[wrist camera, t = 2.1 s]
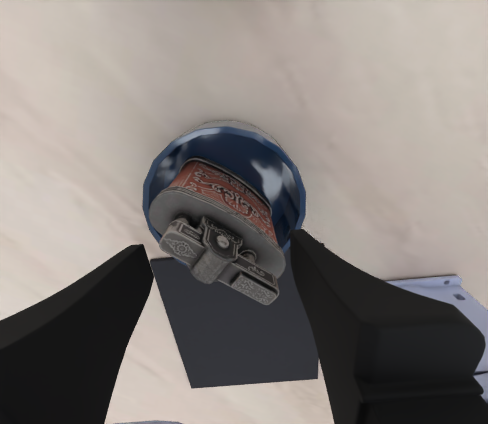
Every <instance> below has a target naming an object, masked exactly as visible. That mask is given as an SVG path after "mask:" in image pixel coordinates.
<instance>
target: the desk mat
mask: <svg viewBox="0 0 488 424" xmlns="http://www.w3.org/2000/svg"><path fill="white" fill-rule="evenodd" d="M322 245H323V246H324V244H322ZM284 257H285V263H286V266H285V269H284V272H283V273H282V274H281V276H280V277H279V278H278V279H277V283H278V288H279V295H278V297H277V298H276V299H275V300H274V301H273V302H272V303H270V304H269V305H264V304H262V303H260V302H258V301H256V300H254V299H252V298H251V297H249V296H247V295H245V294H243V293H241V292H239V291H237V290H235V289H233V288H232V287H230V286H228V285H226V284H224V283H222V282H220V281H217V282H213V283H212V284H204V283H203V282H201V281H199V280H197V279H195V278H194V277H193V276H192V274H191V272H190V269H189V268H188V267H187V266H186V265H183V264H181V263H179V262H178V261H177V260H176V259H174V258H173V257H171V258H160V259H151V260H150V264H151V267H152V270H153V273H154V276H155V279H156V282H157V285H158V289H159V292H160V295H161V298H162V301H163V304H164V307H165V310H166V313H167V316H168V319H169V322H170V325H171V328H172V331H173V334H174V337H175V340H176V343H177V346H178V349H179V352H180V355H181V358H182V361H183V364H184V367H185V370H186V373H187V376H188V379H189V382H190V385H191V388H204V387H217V386H230V385H244V384H257V383H270V382H283V381H296V380H310V379H318V360H319V355H318V351H317V347H316V344H315V340H314V336H313V332H312V329H311V326H310V323H309V320H308V317H307V315H306V312H305V309H304V306H303V304H302V301H301V298H300V295H299V293H298V290H297V287H296V284H295V281H294V277H293V273H292V268H291V257H290V247H289V248H288V250H287V251H286V252H285V253H284Z"/></svg>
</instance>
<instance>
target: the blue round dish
mask: <svg viewBox="0 0 488 424" xmlns="http://www.w3.org/2000/svg"><path fill="white" fill-rule="evenodd" d="M192 156H202V157H205V158H207V159H209V160H211V161H214V162H216V163H218V164H221V165H223V166H224V167H226V168H228V169H229V170H231V171H233V172H235V173H236V174H238V175H240V176H241V177H242V178H244V179H245V180H246V181H247V182H249V183H250V184H251V185H252V186H254V187H255V188H256V189H257V190H258V191H259V192H260V193H261V194H262V195H263V196H264V197H265V198H266V199H267V200H268V202H269V203H270V206H271V210H272V215H271V219H272V223H273V227H274V231H275V235H276V239H277V243H278V245H279V246H280V247H281V249H282V251H283V253H285V252H286V251H287V250H288V248H289V247H290V230H296V229H301V226H302V223H303V221H304V218H305V215H306V192H305V188H304V185H303V183H302V180H301V177H300V174H299V171H298V169H297V167H296V166H295V164H294V163H293V162H292V161H291V159H290V158H289V157H288V155H287V154H286V153H285V152H284V150H283V149H282V148H281V147H280V145H279V144H278V143H277V142H276V141H275V139H274V138H273V137H271V136H270V135H268V134H266V133H265V132H264V131H262V130H260V129H258V128H257V127H255V126H253V125H250V124H246V123H242V122H238V121H232V120H224V121H214V122H206V123H204V124H202V125H199V126H197V127H195V128H193V129H191V130H189V131H187V132H185V133H184V134H182V135H181V136H179V137H178V138H176V139H175V140H174V141H172V142H171V143H170V144H169V145H168V146H167V147H166V148H165V149H164V150H163V151H162V152H161V153H160V154H159V155H158V156H157V157H156V159H155V160H154V161H153V163H152V165H151V167H150V170H149V172H148V174H147V177H146V179H145V181H144V184H143V211H144V215H145V218H146V221H147V224H148V228H149V230H150V232H151V233H152V235H153V236H154V238H155V239H156V240H157V242H158V243H159V242H160V240H161V238H162V236H163V235H161V234H160V233H159V232H158V231H156V229H155V228H154V227H153V226H152V224H151V222H150V219H149V209H150V206H151V203H152V202H153V201H154V199H155V198H156V197H157V196H158V195H159V193H160V192H161V191H162V190H164V189H166V188H168V187H169V186H170V184H171V183H172V182H173V180H174V179H175V178H176V177H177V175H178V174H179V170H180V168H181V166H182V165H183V164H184V162H185V161H186V160H187V159H189V158H190V157H192ZM172 257H173V256H172ZM173 258H174V259H176V260H177V261H178V262H179V263H181V264H183V265H186V263H184V262H182V261H181V260H179V259H177V258H175V257H173ZM186 266H187V265H186Z"/></svg>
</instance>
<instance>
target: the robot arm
mask: <svg viewBox="0 0 488 424" xmlns="http://www.w3.org/2000/svg"><path fill="white" fill-rule="evenodd" d="M290 257H291V268H292V273H293V277H294V281H295V284H296V287H297V290H298V293H299V295H300V298H301V301H302V304H303V306H304V309H305V312H306V315H307V317H308V320H309V323H310V326H311V329H312V332H313V336H314V340H315V344H316V347H317V351H318V355H319V359H320V363H321V367H322V371H323V376H324V380H325V384H326V388H327V393H328V397H329V401H330V405H331V410H332V414H333V419H334V423H335V424H488V310H487V309H486V308H485V307H484V306H483V305H481V304H480V303H479V302H478V301H477V300H476V299H475V298H473V297H472V296H471V295H470V294H469V293H468V292H467V291H465V290H464V289H463V288H462V287H461V286H460V285H461V282H462V279H461V278H460V277H459V276H458V275H454V276H442V277H431V278H419V279H408V280H396V281H383V280H381V279H378V278H376V277H374V276H372V275H370V274H368V273H366V272H364V271H362V270H360V269H358V268H356V267H355V266H353V265H351V264H349V263H348V262H346V261H344V260H343V259H341V258H340V257H338V256H337V255H335V254H334V253H332V252H331V251H330V250H328V249H327V248H326V247H324V246H323V245H322V244H320V243H319V242H318V241H317V240H315V239H314V238H313V237H312V236H311V235H309V234H308V233H307V232H306V231H305V230H303V229H296V230H290ZM153 279H154V275H153V272H152V269H151V266H150V263H149V260H148V257H147V254H146V251H145V248H144V245H143V244H139V245H131V246H129V247H127V248H125V249H124V250H122V251H121V252H119V253H118V254H116V255H115V256H113V257H112V258H110V259H109V260H107V261H106V262H105V263H103V264H102V265H100V266H99V267H97V268H96V269H94V270H93V271H91V272H90V273H88V274H87V275H85V276H84V277H82V278H81V279H79V280H77V281H76V282H74V283H73V284H71V285H70V286H68V287H66V288H64V289H63V290H61V291H59V292H57V293H56V294H54V295H52V296H50V297H48V298H47V299H45V300H43V301H41V302H39V303H37V304H35V305H33V306H31V307H29V308H27V309H24V310H22V311H20V312H18V313H16V314H14V315H12V316H10V317H7V318H5V319H3V320H1V321H0V424H104V422H105V419H106V415H107V411H108V407H109V403H110V400H111V396H112V392H113V389H114V386H115V382H116V379H117V375H118V372H119V369H120V366H121V363H122V360H123V356H124V353H125V350H126V347H127V345H128V342H129V340H130V337H131V335H132V333H133V331H134V328H135V326H136V324H137V322H138V319H139V317H140V315H141V313H142V310H143V308H144V306H145V303H146V301H147V299H148V296H149V293H150V290H151V287H152V283H153ZM115 424H182V423H179V422H171V421H142V422H129V423H115Z"/></svg>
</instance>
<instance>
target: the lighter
mask: <svg viewBox="0 0 488 424" xmlns="http://www.w3.org/2000/svg"><path fill="white" fill-rule="evenodd" d="M271 215H272V210H271V206H270V203H269V202H268V200H267V199H266V198H265V197H264V196H263V195H262V194H261V193H260V192H259V191H258V190H257V189H256V188H255V187H254V186H252V185H251V184H250V183H249V182H247V181H246V180H245V179H244V178H242V177H241V176H240V175H238V174H236V173H235V172H233V171H231V170H229V169H228V168H226V167H224V166H223V165H221V164H218V163H216V162H214V161H211V160H209V159H207V158H205V157H202V156H192V157H190V158H189V159H187V160H186V161H185V162H184V164H183V165H182V166H181V168H180V170H179V174H178V175H177V177H176V178H175V179H174V180H173V182H172V183H171V184H170V186H169V187H168V188H166V189H164V190H162V191H161V192H160V193H159V195H158V196H157V197H156V198H155V199H154V201H153V202H152V203H151V206H150V209H149V219H150V222H151V224H152V226H153V227H154V228H155V229H156V231H158V232H159V233H160V234H161V235H163V236H162V238H161V240H160V242H159V247H160V248H161V250H163V251H164V252H166V253H167V254H169V255H171V256H173V257H175V258H177V259H179V260H181V261H182V262H184V263H186V265H187V267H188V268H189V269H190V272H191V274H192V276H193V277H194V278H195V279H197V280H199V281H201V282H203V283H204V284H212V283H213V282H217V281H220V282H222V283H224V284H226V285H228V286H230V287H232V288H233V289H235V290H237V291H239V292H241V293H243V294H245V295H247V296H249V297H251V298H252V299H254V300H256V301H258V302H260V303H262V304H264V305H269V304H270V303H272V302H273V301H274V300H275V299H276V298H277V297H278V295H279V288H278V283H277V279H278V278H279V277H280V276H281V274H282V273H283V272H284V269H285V266H286V263H285V257H284V253H283V251H282V249H281V247H280V246H279V245H278V243H277V239H276V235H275V231H274V227H273V223H272V219H271Z"/></svg>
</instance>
